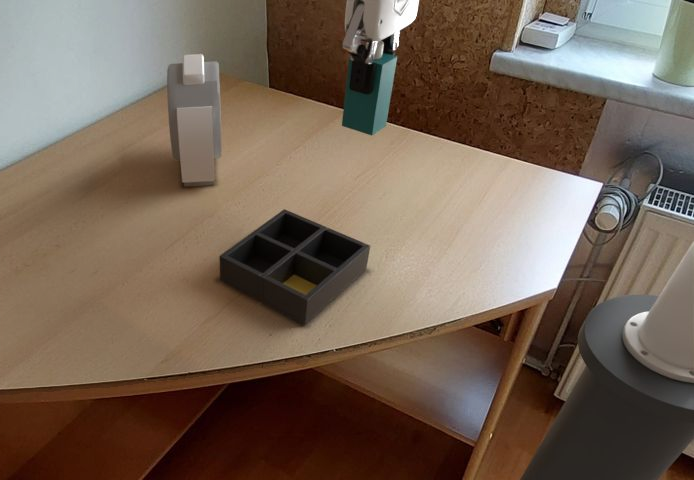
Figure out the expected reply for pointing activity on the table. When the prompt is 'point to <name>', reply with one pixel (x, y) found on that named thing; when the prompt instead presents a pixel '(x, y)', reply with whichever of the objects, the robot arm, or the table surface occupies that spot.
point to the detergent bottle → (371, 96)
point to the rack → (294, 265)
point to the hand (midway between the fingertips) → (369, 84)
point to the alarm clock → (195, 118)
